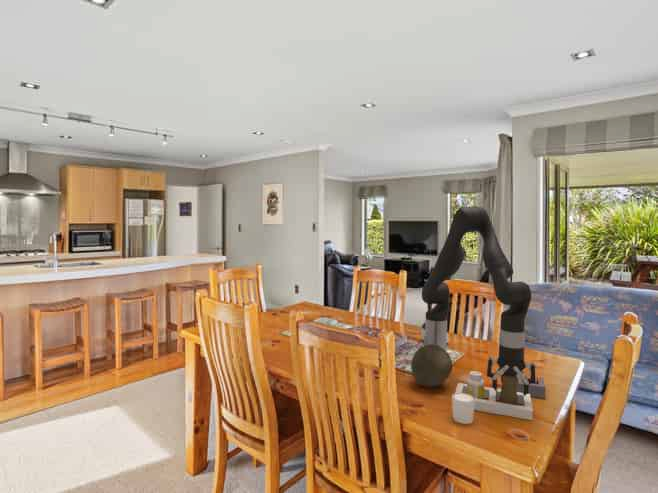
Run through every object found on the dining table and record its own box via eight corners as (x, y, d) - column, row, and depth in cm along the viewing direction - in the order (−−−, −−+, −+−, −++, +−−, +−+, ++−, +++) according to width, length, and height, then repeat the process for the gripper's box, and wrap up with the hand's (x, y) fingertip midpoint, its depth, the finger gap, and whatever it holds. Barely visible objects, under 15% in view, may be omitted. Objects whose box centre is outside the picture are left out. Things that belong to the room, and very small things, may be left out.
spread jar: (418, 340, 199) (419, 318, 198) (435, 337, 204) (436, 315, 204) (435, 347, 189) (436, 323, 188) (453, 344, 194) (453, 320, 193)
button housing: (515, 394, 139) (516, 383, 139) (515, 384, 148) (515, 373, 147) (545, 398, 136) (545, 387, 136) (542, 388, 144) (543, 377, 144)
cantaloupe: (421, 395, 138) (421, 353, 137) (405, 379, 152) (406, 341, 151) (458, 392, 141) (459, 350, 140) (439, 376, 155) (440, 338, 154)
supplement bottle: (483, 399, 136) (484, 371, 135) (484, 406, 130) (485, 377, 130) (466, 397, 137) (467, 369, 137) (466, 403, 132) (467, 375, 132)
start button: (523, 387, 140) (523, 379, 140) (522, 382, 144) (522, 374, 144) (537, 389, 139) (537, 381, 138) (536, 384, 143) (536, 376, 142)
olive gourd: (520, 412, 126) (521, 378, 126) (500, 410, 128) (501, 377, 127) (516, 403, 132) (517, 371, 131) (496, 402, 134) (497, 370, 133)
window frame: (453, 406, 131) (454, 397, 130) (457, 390, 142) (457, 382, 142) (532, 420, 122) (532, 410, 121) (529, 402, 133) (530, 394, 133)
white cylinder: (447, 414, 125) (448, 392, 125) (468, 413, 126) (469, 391, 125) (457, 425, 118) (457, 403, 118) (479, 424, 119) (479, 401, 119)
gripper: (487, 344, 128) (486, 393, 129) (537, 350, 122) (535, 401, 123) (488, 337, 134) (486, 384, 136) (535, 342, 129) (533, 391, 130)
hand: (510, 392), depth 129 cm, fingers open, 8 cm apart
